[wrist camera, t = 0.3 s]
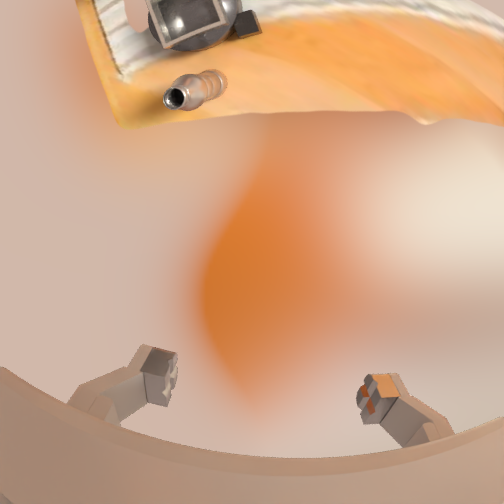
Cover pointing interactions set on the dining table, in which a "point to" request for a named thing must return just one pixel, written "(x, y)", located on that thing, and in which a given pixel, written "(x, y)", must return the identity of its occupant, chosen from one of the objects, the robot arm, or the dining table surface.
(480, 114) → the dining table surface
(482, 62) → the dining table surface
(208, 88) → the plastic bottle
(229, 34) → the disc with square tube
